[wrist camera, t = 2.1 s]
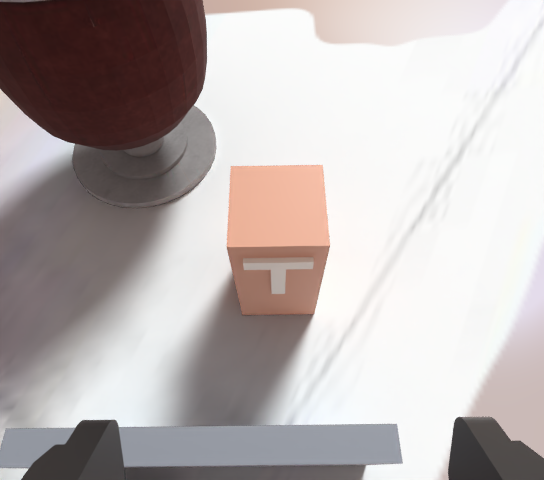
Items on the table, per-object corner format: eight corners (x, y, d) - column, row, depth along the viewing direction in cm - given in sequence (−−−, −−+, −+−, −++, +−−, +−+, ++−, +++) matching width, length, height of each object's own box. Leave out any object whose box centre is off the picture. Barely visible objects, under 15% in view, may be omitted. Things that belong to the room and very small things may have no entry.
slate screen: (76, 468, 24) (-6, 468, 17) (82, 439, 25) (6, 428, 18) (366, 465, 24) (402, 463, 17) (363, 436, 25) (397, 423, 18)
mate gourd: (53, 122, 38) (-138, -175, 20) (195, 79, 40) (133, -217, 23) (88, 258, 31) (-159, -16, 13) (257, 195, 34) (234, -102, 16)
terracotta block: (242, 319, 28) (226, 252, 20) (244, 251, 31) (230, 166, 22) (314, 318, 28) (330, 251, 20) (310, 250, 31) (322, 165, 22)
